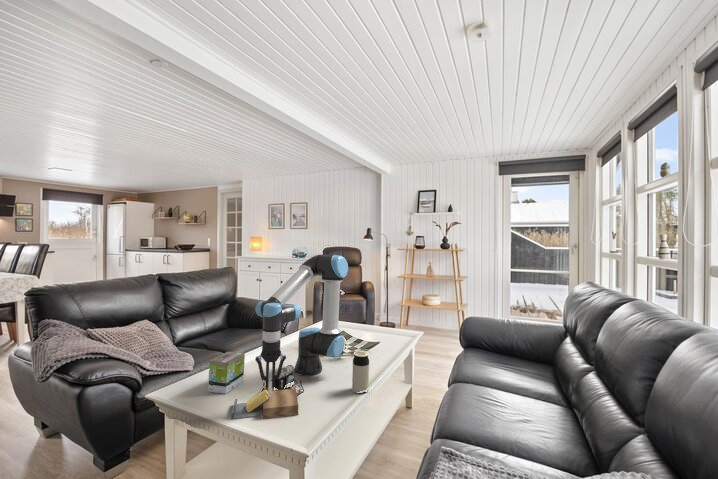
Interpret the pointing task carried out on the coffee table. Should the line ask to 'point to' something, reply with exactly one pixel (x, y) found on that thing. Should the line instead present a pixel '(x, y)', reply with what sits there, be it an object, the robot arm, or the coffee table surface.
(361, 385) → the travel mug
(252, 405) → the yellow sticky note pad
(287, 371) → the camera
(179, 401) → the coffee table surface
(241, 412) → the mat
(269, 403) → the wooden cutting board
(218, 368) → the tea box
